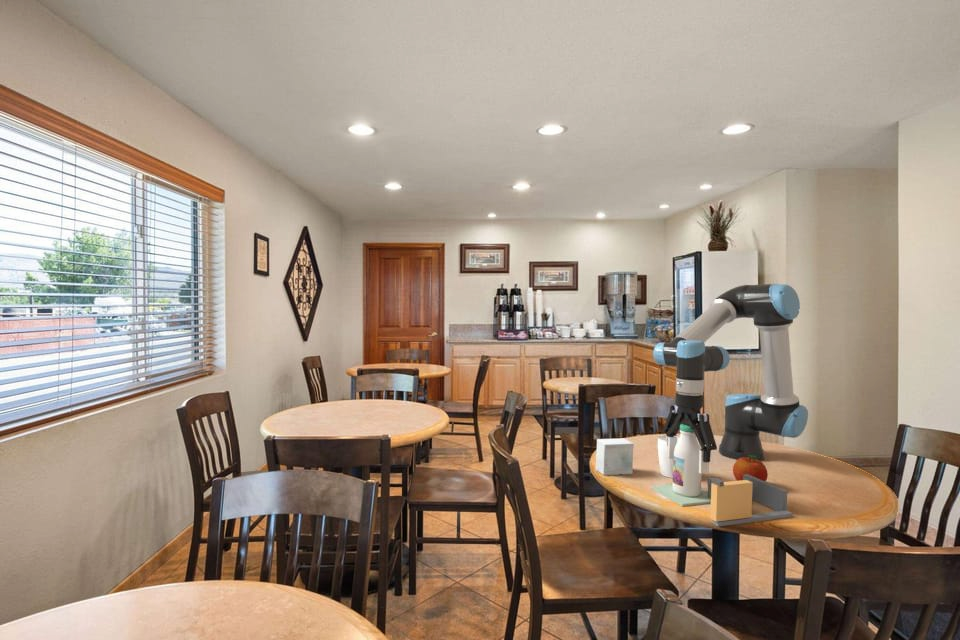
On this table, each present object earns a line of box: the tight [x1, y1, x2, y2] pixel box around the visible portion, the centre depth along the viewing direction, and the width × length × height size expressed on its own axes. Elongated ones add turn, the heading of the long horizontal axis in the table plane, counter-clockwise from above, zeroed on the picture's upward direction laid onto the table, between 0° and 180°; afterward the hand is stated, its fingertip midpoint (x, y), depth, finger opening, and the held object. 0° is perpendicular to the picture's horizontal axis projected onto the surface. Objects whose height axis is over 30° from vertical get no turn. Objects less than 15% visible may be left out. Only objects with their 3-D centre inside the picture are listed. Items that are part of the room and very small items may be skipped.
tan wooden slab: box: [709, 477, 753, 522], centre depth 126 cm, size 11×3×10 cm, turn 106°
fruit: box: [732, 455, 769, 482], centre depth 154 cm, size 10×10×10 cm
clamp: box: [707, 474, 794, 527], centre depth 135 cm, size 25×16×6 cm, turn 106°
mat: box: [650, 483, 711, 507], centre depth 145 cm, size 14×14×1 cm
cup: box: [657, 434, 680, 479], centre depth 162 cm, size 9×9×12 cm
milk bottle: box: [672, 424, 702, 497], centre depth 145 cm, size 8×8×20 cm
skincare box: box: [595, 437, 634, 476], centre depth 164 cm, size 10×6×10 cm, turn 102°
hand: (687, 465), depth 145 cm, fingers open, 13 cm apart
